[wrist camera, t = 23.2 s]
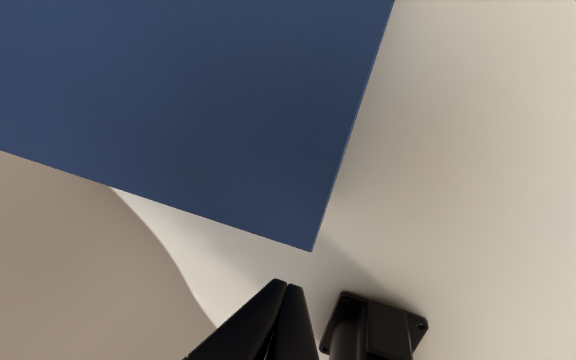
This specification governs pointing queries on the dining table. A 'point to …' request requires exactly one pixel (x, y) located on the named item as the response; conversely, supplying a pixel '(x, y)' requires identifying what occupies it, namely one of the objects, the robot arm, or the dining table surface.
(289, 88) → the lunchbox lid
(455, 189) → the dining table surface
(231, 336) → the robot arm
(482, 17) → the dining table surface
